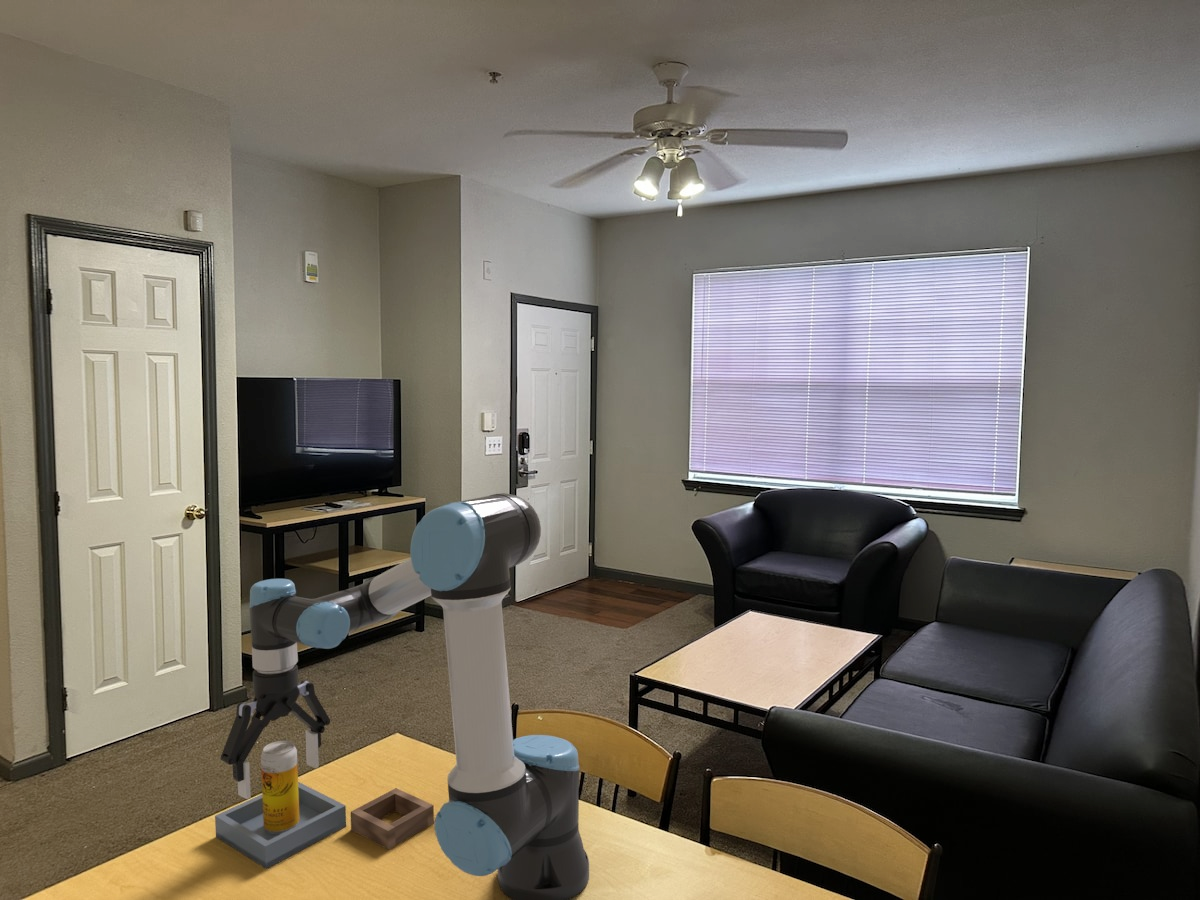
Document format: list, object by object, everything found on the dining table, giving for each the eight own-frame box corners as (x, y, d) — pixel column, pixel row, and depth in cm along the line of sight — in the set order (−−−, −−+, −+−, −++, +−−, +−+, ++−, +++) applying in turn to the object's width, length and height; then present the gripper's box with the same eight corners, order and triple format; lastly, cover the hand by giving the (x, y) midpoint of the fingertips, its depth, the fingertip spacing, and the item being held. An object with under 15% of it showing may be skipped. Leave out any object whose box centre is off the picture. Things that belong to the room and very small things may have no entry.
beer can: (256, 832, 146) (252, 752, 145) (278, 815, 152) (275, 737, 150) (284, 838, 144) (281, 757, 143) (306, 820, 150) (303, 742, 149)
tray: (346, 826, 150) (345, 805, 150) (266, 868, 137) (265, 846, 137) (295, 799, 159) (294, 779, 159) (215, 836, 147) (214, 815, 146)
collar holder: (433, 823, 151) (433, 805, 151) (388, 849, 143) (388, 830, 142) (396, 805, 157) (396, 788, 157) (351, 829, 149) (350, 811, 148)
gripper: (322, 643, 158) (326, 748, 160) (195, 683, 137) (201, 803, 140) (347, 651, 153) (350, 759, 155) (219, 693, 133) (224, 817, 135)
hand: (279, 780), depth 147 cm, fingers open, 13 cm apart
